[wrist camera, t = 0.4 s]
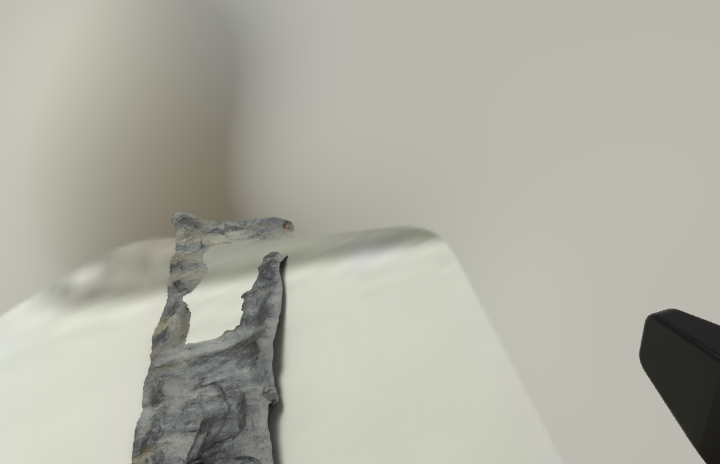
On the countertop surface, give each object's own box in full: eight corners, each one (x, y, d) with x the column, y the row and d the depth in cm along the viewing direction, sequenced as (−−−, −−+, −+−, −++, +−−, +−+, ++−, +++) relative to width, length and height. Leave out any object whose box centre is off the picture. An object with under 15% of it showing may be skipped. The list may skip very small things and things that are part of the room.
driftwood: (285, 612, 23) (276, 590, 22) (93, 628, 23) (72, 607, 22) (295, 224, 38) (290, 196, 37) (180, 234, 38) (170, 206, 37)
